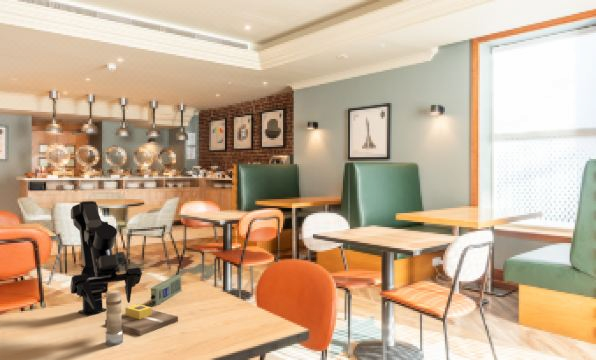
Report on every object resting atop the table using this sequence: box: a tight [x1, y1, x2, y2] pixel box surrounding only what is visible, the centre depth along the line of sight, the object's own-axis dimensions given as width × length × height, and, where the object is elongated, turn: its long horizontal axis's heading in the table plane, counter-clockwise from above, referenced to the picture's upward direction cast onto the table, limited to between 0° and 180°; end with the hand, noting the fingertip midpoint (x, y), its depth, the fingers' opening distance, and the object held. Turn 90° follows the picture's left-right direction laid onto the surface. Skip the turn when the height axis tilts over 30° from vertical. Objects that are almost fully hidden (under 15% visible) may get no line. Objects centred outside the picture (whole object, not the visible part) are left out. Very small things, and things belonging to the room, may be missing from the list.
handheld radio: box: [145, 274, 182, 308], centre depth 159 cm, size 7×3×25 cm
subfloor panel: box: [104, 309, 179, 336], centre depth 134 cm, size 17×14×2 cm
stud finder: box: [124, 303, 152, 319], centre depth 137 cm, size 7×4×3 cm, turn 57°
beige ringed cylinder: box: [105, 290, 124, 347], centre depth 119 cm, size 4×4×14 cm
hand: (112, 305), depth 121 cm, fingers open, 9 cm apart
